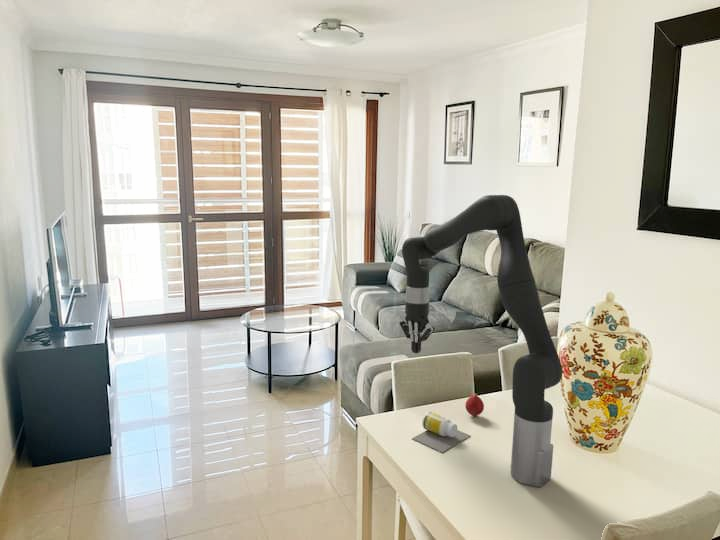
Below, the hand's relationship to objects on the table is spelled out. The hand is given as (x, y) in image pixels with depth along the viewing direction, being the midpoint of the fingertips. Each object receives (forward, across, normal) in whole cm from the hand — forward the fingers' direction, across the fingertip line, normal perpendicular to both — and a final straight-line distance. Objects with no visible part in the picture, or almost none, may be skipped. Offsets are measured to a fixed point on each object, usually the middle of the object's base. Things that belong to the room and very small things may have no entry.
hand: (415, 352), depth 169 cm
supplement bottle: (+18, -9, +6) cm, 21 cm away
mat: (+21, -16, +7) cm, 27 cm away
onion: (+21, -15, -12) cm, 29 cm away
